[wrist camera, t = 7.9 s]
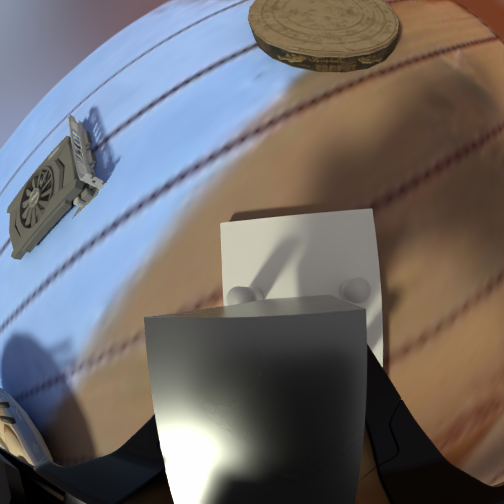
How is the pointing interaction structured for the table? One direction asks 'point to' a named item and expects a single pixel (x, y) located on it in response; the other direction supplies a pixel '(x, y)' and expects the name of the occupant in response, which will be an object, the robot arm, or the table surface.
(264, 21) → the brown flat round piece
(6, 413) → the ramen bowl
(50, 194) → the graphics card
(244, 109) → the table surface
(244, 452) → the block
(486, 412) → the table surface
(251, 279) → the pin tray
